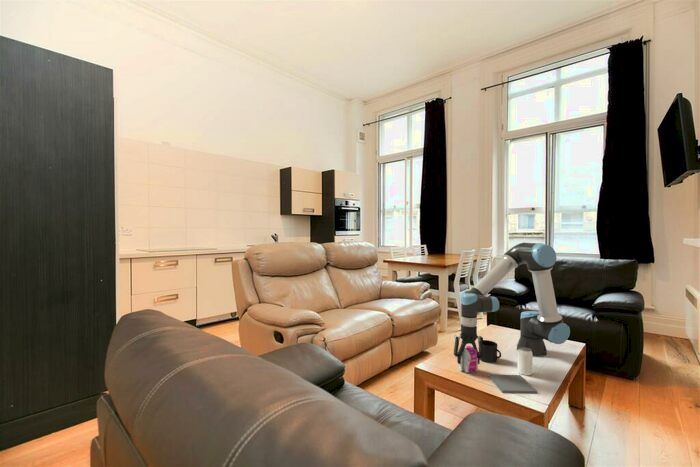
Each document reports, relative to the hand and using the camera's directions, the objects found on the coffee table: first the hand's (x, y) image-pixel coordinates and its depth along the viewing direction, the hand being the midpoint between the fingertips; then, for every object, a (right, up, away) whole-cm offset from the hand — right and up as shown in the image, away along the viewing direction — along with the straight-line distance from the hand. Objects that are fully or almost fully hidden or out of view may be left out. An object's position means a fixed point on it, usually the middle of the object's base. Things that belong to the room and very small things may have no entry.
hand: (468, 370), depth 164 cm
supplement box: (0, -1, 0) cm, 1 cm away
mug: (+16, 0, +13) cm, 21 cm away
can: (+27, -1, -3) cm, 27 cm away
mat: (+15, -1, -14) cm, 21 cm away
